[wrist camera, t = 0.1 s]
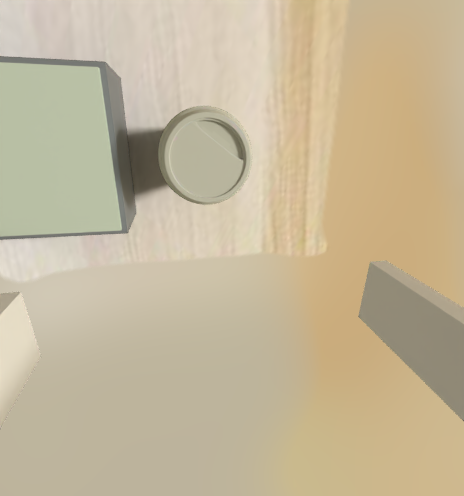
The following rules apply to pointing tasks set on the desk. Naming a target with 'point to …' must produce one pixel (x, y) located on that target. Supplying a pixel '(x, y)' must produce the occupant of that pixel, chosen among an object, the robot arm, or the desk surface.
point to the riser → (63, 150)
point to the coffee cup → (205, 155)
